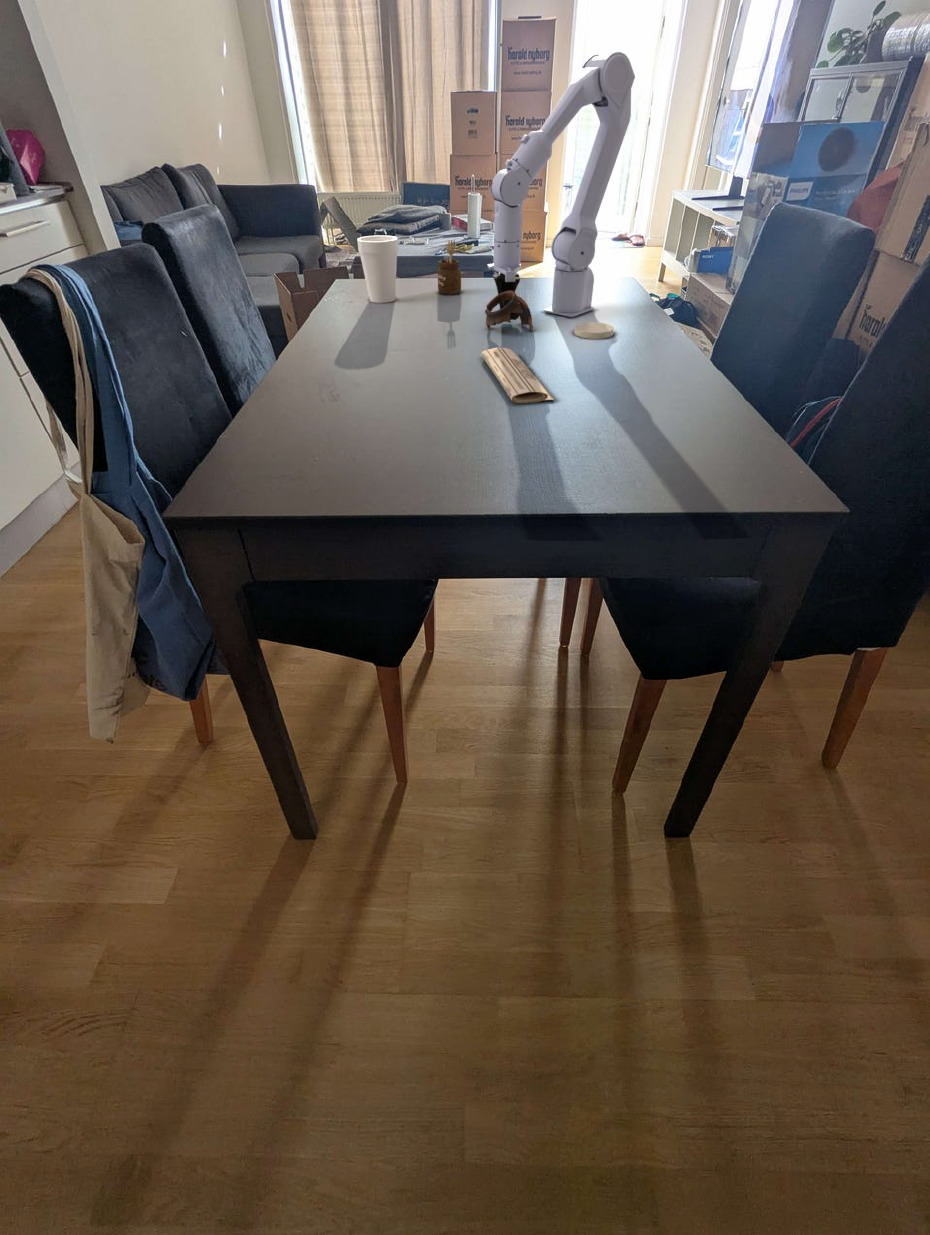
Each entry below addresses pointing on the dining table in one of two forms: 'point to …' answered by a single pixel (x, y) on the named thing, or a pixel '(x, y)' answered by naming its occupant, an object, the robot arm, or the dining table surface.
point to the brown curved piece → (508, 310)
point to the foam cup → (379, 266)
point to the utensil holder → (449, 274)
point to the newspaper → (515, 376)
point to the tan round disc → (593, 330)
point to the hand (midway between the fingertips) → (505, 311)
